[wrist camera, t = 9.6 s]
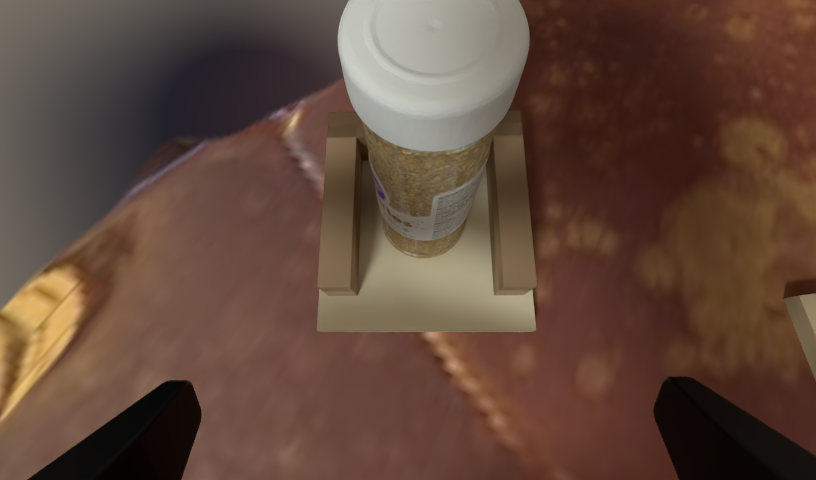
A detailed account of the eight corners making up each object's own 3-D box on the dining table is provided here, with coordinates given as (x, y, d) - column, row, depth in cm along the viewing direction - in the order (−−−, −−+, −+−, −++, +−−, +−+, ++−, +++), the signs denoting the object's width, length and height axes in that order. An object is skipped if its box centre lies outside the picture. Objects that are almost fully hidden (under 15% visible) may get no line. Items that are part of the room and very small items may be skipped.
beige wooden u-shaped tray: (530, 331, 21) (552, 325, 18) (321, 332, 21) (303, 326, 18) (513, 130, 25) (528, 93, 21) (333, 132, 25) (320, 96, 22)
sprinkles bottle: (366, 212, 22) (295, 6, 9) (432, 167, 23) (452, -81, 10) (414, 278, 21) (410, 147, 8) (483, 229, 22) (577, 38, 9)
